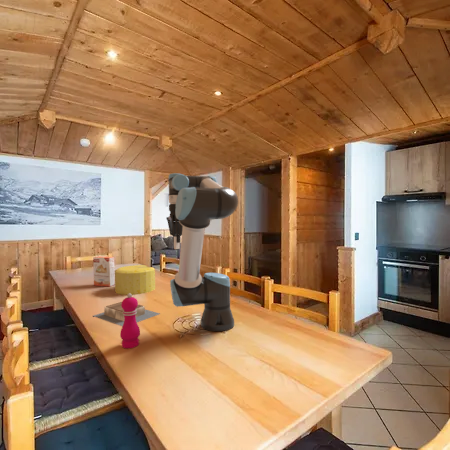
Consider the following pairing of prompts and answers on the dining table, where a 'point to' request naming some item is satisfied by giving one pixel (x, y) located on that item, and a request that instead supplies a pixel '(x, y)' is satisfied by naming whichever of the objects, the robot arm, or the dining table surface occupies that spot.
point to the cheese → (134, 279)
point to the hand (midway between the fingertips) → (176, 248)
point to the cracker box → (104, 271)
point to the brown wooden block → (121, 311)
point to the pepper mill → (130, 323)
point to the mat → (140, 318)
